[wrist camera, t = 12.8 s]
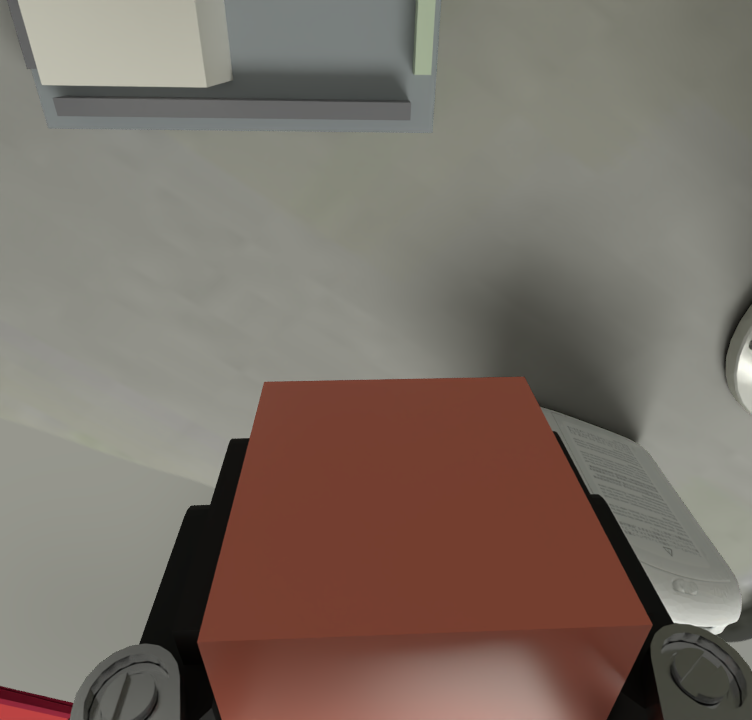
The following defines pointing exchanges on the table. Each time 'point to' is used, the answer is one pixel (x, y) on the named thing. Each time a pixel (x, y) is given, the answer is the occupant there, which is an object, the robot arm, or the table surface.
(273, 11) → the grey tray
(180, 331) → the table surface
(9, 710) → the red board with handle
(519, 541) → the red cube
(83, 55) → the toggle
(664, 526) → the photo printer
